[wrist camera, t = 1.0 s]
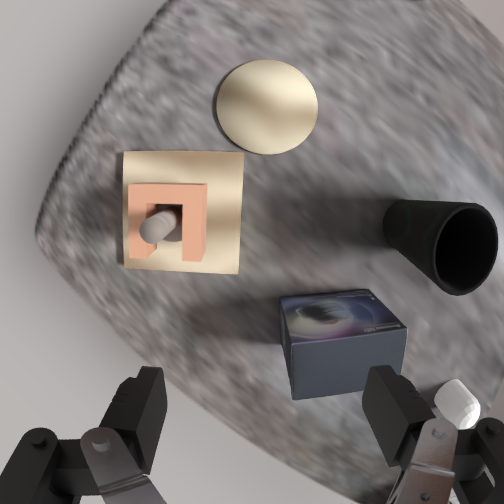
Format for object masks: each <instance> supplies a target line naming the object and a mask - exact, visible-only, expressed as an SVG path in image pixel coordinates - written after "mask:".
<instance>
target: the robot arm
mask: <svg viewBox="0 0 504 504" xmlns="http://www.w3.org/2000/svg"><path fill="white" fill-rule="evenodd" d="M417 1H419V0H417ZM362 407H363V411H364V413H365V415H366V417H367V419H368V422H369V424H370V426H371V428H372V430H373V432H374V435H375V437H376V439H377V441H378V444H379V446H380V448H381V450H382V452H383V455H384V457H385V459H386V461H387V464H388V466H389V467H394V466H398V465H400V466H401V468H402V470H401V472H400V473H399V476H398V478H397V480H396V483H395V485H394V487H393V490H392V492H391V494H390V496H389V498H388V501H387V503H386V504H448V501H449V497H450V494H451V490H452V488H453V490H454V492H455V494H456V496H457V499H458V501H459V503H460V504H504V424H503V423H502V422H501V421H500V420H498V419H495V418H483V419H481V420H480V421H479V422H478V423H477V425H476V427H475V429H457V428H456V426H455V425H454V424H453V423H452V422H450V421H448V420H446V419H442V418H436V417H435V415H434V414H433V412H432V411H431V409H430V408H429V407H428V405H427V404H426V402H425V401H424V400H423V398H422V397H421V395H420V394H419V393H418V391H416V388H415V387H414V386H413V384H412V383H411V381H409V380H408V379H406V378H405V377H403V376H402V375H397V374H396V373H395V371H394V370H393V368H392V367H391V366H390V365H380V366H372V367H370V369H369V372H368V376H367V381H366V385H365V388H364V392H363V396H362ZM166 412H167V395H166V388H165V381H164V374H163V370H162V368H160V367H147V366H142V367H141V369H140V371H139V373H138V376H137V378H132V377H129V378H127V379H126V380H125V381H124V382H123V383H121V384H120V386H119V388H118V389H117V391H116V395H115V396H114V397H113V399H112V402H111V403H110V405H109V407H108V409H107V411H106V413H105V415H104V417H103V419H102V421H101V423H100V425H99V427H97V428H93V429H90V430H88V431H87V432H85V433H84V435H83V436H82V437H81V439H76V440H75V439H72V440H71V439H69V440H58V438H57V436H56V435H55V433H54V432H53V431H51V430H49V429H47V428H34V429H31V430H29V431H28V432H26V433H25V434H24V435H23V437H22V438H21V440H20V442H19V443H18V445H17V447H16V449H15V450H14V452H13V454H12V456H11V458H10V459H9V461H8V463H7V464H6V466H5V468H4V470H3V472H2V474H1V475H0V504H79V503H80V500H81V497H82V496H83V495H84V496H89V495H101V496H102V498H103V500H104V502H105V503H106V504H167V503H166V502H165V500H164V499H163V498H162V496H161V495H160V493H159V492H158V491H157V489H156V488H155V486H154V485H153V483H152V482H151V480H150V479H149V478H148V477H147V476H144V475H143V474H147V475H150V471H151V467H152V464H153V460H154V456H155V452H156V449H157V445H158V441H159V438H160V434H161V430H162V427H163V423H164V420H165V416H166ZM486 467H487V468H488V469H489V471H490V473H491V474H492V476H493V478H494V480H495V487H493V485H492V484H491V482H490V480H489V478H488V477H487V475H486V473H485V471H484V470H485V468H486Z"/></svg>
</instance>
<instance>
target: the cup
mask: <svg viewBox="0 0 504 504" xmlns="http://www.w3.org/2000/svg"><path fill="white" fill-rule="evenodd" d="M383 232H384V236H385V238H386V240H387V241H388V242H389V244H390V245H391V246H393V247H394V248H395V249H396V250H397V251H399V252H400V253H401V254H402V255H403V256H404V257H406V258H407V259H408V260H409V261H410V262H411V263H413V264H414V265H415V266H416V267H417V268H418V269H419V270H421V271H422V272H423V273H424V274H425V275H426V276H427V277H428V278H430V279H431V280H432V281H433V282H434V283H435V284H436V285H437V286H438V287H440V288H441V289H442V290H443V291H445V292H446V293H448V294H450V295H455V296H460V295H466V294H468V293H470V292H472V291H474V290H475V289H476V288H478V287H479V286H480V285H481V284H482V283H483V282H484V281H485V280H486V278H487V277H488V275H489V274H490V272H491V270H492V268H493V265H494V263H495V260H496V256H497V251H498V233H497V227H496V224H495V221H494V219H493V217H492V216H491V214H490V213H489V211H488V210H486V209H485V208H484V207H483V206H481V205H479V204H476V203H464V202H445V201H421V200H401V201H397V202H396V203H394V204H393V205H392V206H391V207H389V209H388V210H387V212H386V214H385V216H384V219H383Z"/></svg>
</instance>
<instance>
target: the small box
mask: <svg viewBox="0 0 504 504" xmlns="http://www.w3.org/2000/svg"><path fill="white" fill-rule="evenodd" d="M279 302H280V329H281V345H282V347H283V351H284V356H285V361H286V366H287V371H288V376H289V379H290V385H291V394H292V399H293V400H301V399H309V398H317V397H325V396H332V395H338V394H345V393H351V392H357V391H363V390H364V388H365V385H366V381H367V376H368V372H369V369H370V367H372V366H380V365H390V366H391V367H392V368H393V370H394V371H395V373H396V374H397V375H401V372H402V367H403V361H404V355H405V348H406V342H407V334H408V328H407V327H406V326H404V325H403V324H402V323H401V321H400V320H399V319H398V318H397V317H396V316H395V315H394V314H393V313H392V312H391V311H390V310H389V309H388V308H387V307H386V306H385V305H384V304H383V303H382V302H381V301H380V300H379V299H378V298H377V297H376V296H375V295H374V294H373V293H372V292H371V291H370V290H369V289H366V290H356V291H346V292H337V293H326V294H315V295H304V296H292V297H280V299H279Z"/></svg>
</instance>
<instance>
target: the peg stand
mask: <svg viewBox="0 0 504 504" xmlns="http://www.w3.org/2000/svg"><path fill="white" fill-rule="evenodd" d="M243 168H244V152H220V151H124V159H123V249H124V268H134V269H150V270H167V271H184V272H202V273H222V274H238V267H239V246H240V225H241V205H242V186H243ZM141 182H161V183H207V184H208V190H207V217H206V251H205V253H204V256H203V258H202V260H201V262H194V261H182V216H183V204H157V214H155V215H153V216H151V217H149V218H147V219H146V220H144V221H143V222H142V223H141V225H140V229H139V232H140V236H141V238H142V239H143V240H144V241H145V242H146V243H149V244H156V243H157V249H156V250H155V251H154V252H153V253H152V254H151V255H150V256H149V257H148V258H147V259H138V258H129V234H128V184H134V183H141Z"/></svg>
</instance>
